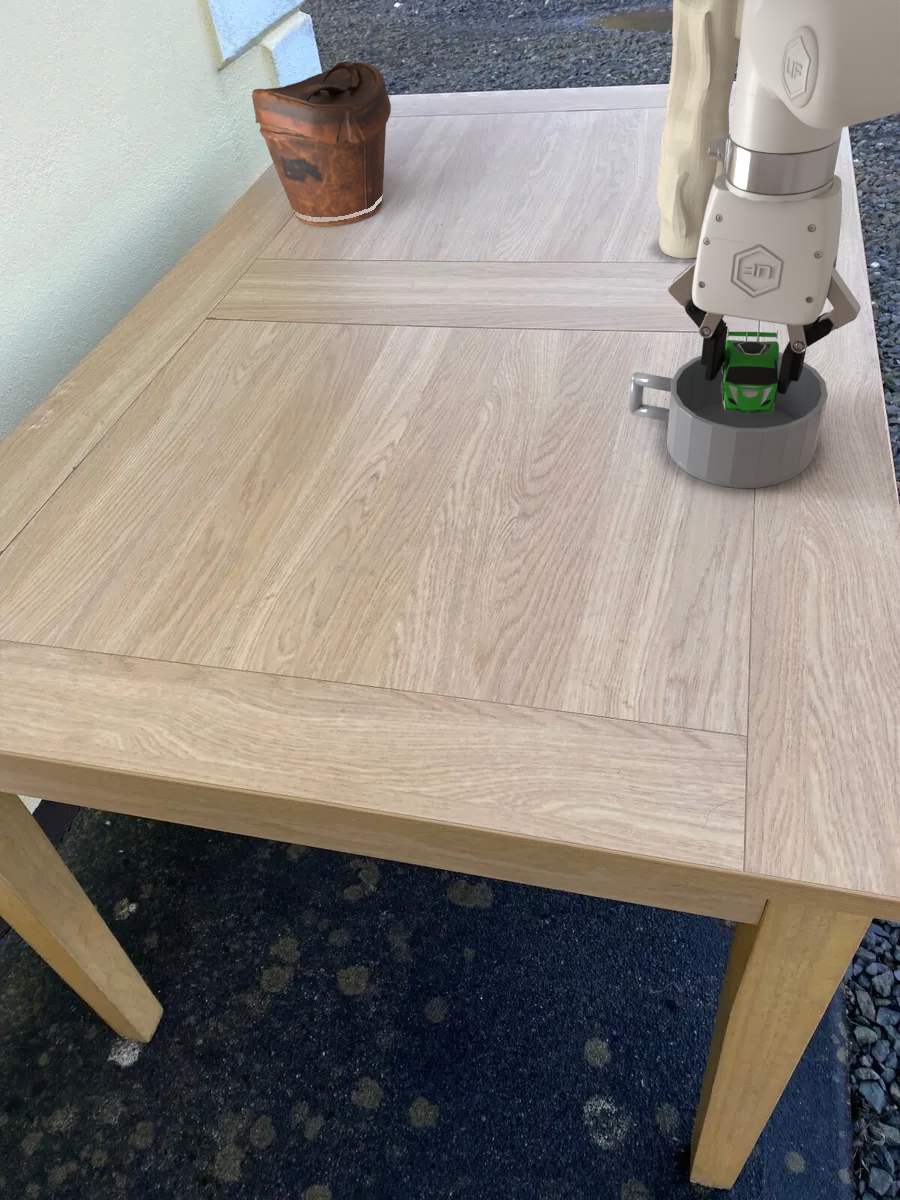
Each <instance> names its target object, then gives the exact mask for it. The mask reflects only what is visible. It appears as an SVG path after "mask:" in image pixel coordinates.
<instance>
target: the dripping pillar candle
mask: <svg viewBox="0 0 900 1200" xmlns="http://www.w3.org/2000/svg"><path fill="white" fill-rule="evenodd" d="M744 1H745V0H673V2H672V31H671V37H672V52H671V65H670V74H669V75H670V76H669V82H668V88H667V94H666V103H665V119H664V120H665V121H664V128H663V131H662V133H661V138H660V139H661V140H660V159H659V165H658V171H657V176H656V201H657V206H658V209H659V213H660V219H659V220H660V221H659V233H658V235H659V236H658V244H659V248H660V250H661V251H662V253H664V254H665V255H667V256H670V257H673V258H676V259H677V258H678V259H697V253H698V247H699V241H700V236H701V230H702V225H703V221H704V216H705V211H706V207H707V204H708V200H709V196H710V192H711V189H712V186H713V183H714V181H715V179H716V178H717V177H719V176H720V175H721V174H722V173H723V172H724V166H723V163H722V162H721V161H718V159H709V157H708V151H709V146H710V143H711V140H712V139H720V140H721V139H722V138H727V137H728V135H729V134H730V103H731V102H730V101H731V95H732V90H733V85H734V79H735V75H736V71H737V66H738V57H739V48H740V38H741V29H742V20H743V10H744Z"/></svg>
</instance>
